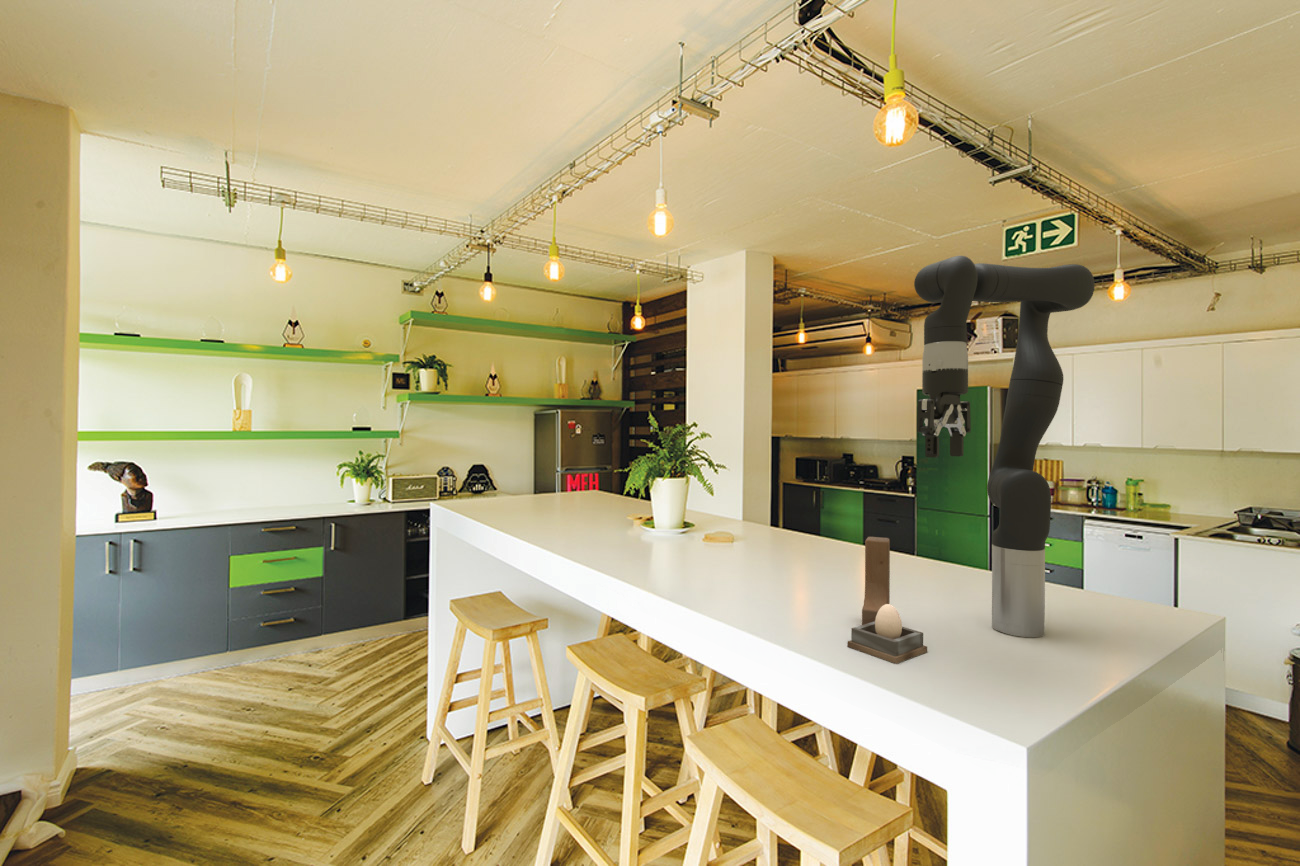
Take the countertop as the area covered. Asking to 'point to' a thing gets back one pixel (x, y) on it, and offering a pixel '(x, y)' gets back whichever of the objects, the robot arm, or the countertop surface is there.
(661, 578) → the countertop surface
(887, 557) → the wooden block
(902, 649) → the holder
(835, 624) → the countertop surface
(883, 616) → the egg
